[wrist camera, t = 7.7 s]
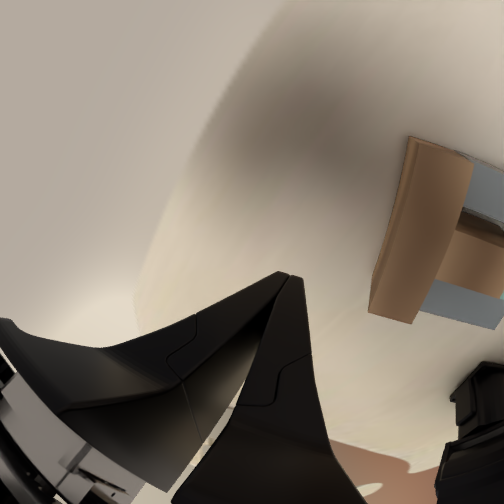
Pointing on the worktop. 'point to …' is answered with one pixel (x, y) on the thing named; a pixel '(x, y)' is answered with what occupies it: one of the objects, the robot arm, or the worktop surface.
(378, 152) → the worktop surface
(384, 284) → the t block
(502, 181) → the t dock
